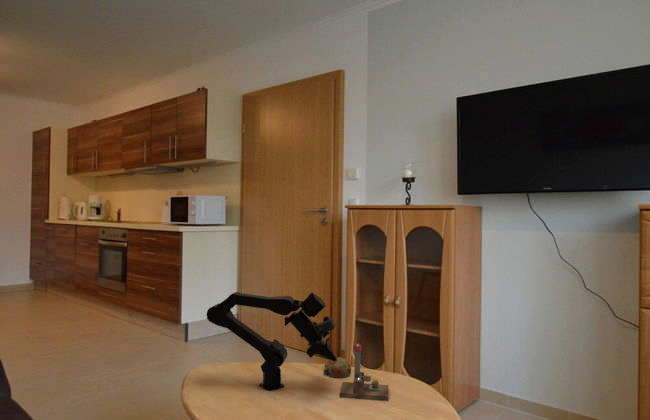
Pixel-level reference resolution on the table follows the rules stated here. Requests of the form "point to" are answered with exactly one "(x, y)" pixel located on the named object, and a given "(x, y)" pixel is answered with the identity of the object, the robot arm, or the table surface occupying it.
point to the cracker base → (364, 390)
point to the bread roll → (337, 368)
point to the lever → (357, 365)
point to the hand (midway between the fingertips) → (335, 360)
